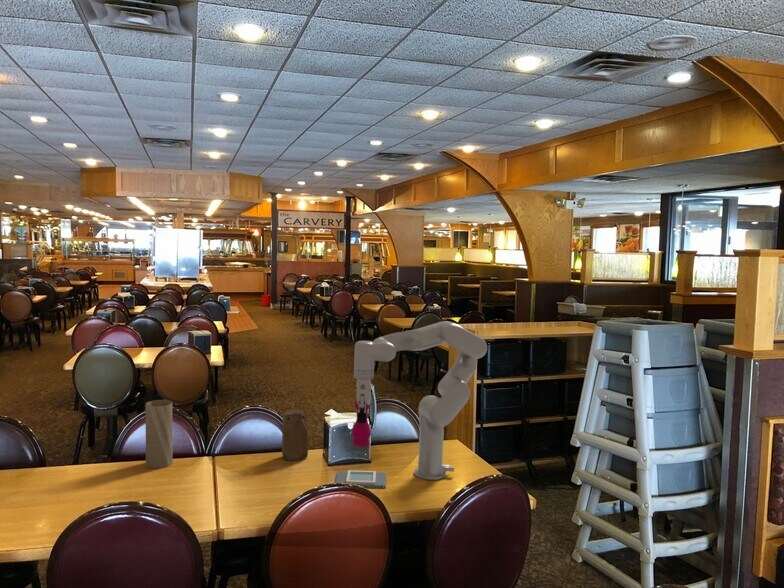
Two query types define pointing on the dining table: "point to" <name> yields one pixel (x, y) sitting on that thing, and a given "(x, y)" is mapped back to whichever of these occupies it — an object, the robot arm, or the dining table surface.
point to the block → (294, 435)
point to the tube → (158, 434)
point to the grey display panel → (362, 478)
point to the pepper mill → (361, 430)
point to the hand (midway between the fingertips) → (362, 420)
